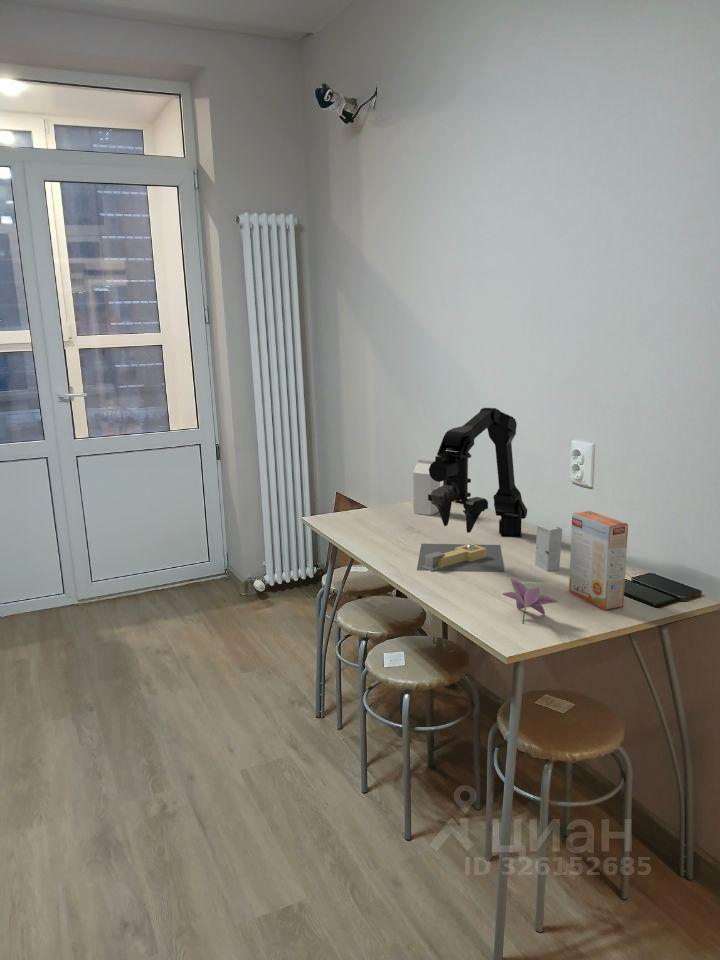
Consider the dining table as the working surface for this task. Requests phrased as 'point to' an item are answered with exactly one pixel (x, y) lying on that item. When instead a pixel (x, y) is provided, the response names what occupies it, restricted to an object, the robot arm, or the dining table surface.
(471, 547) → the cylinder
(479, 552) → the link
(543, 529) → the skincare box
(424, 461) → the milk carton
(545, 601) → the lily
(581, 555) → the cracker box
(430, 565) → the keeper
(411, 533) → the dining table surface
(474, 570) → the mat
